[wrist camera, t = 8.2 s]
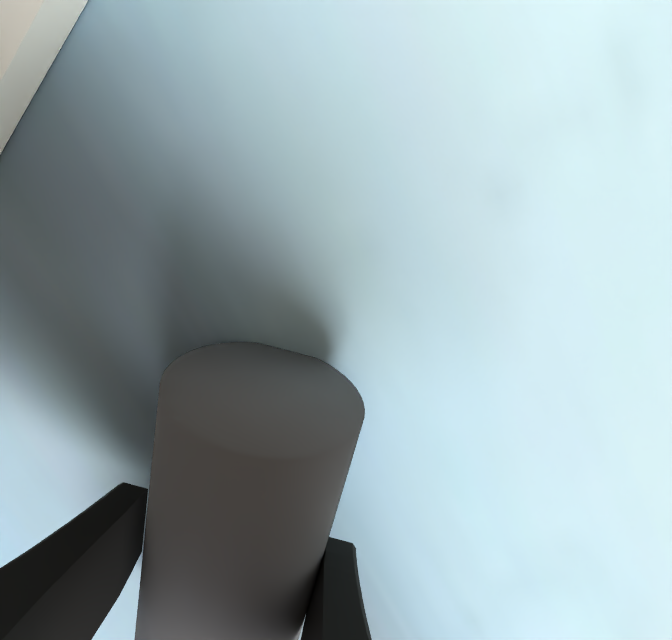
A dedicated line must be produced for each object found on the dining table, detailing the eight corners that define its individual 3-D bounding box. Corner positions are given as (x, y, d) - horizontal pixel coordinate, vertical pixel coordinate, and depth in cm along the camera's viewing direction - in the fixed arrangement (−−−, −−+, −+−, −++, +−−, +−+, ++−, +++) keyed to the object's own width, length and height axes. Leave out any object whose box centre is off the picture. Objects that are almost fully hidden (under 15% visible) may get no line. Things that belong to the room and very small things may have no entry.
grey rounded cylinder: (291, 614, 15) (272, 778, 11) (163, 591, 14) (99, 751, 11) (362, 363, 11) (368, 478, 8) (196, 328, 11) (120, 429, 7)
